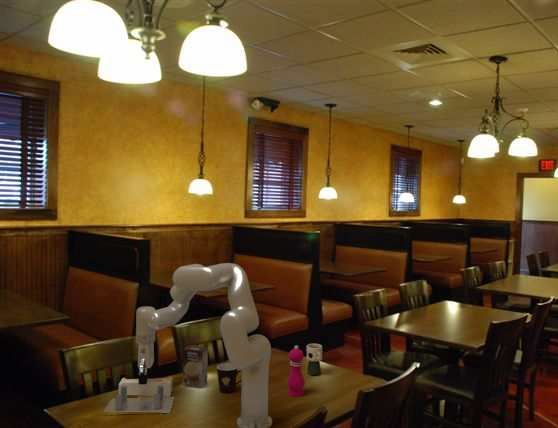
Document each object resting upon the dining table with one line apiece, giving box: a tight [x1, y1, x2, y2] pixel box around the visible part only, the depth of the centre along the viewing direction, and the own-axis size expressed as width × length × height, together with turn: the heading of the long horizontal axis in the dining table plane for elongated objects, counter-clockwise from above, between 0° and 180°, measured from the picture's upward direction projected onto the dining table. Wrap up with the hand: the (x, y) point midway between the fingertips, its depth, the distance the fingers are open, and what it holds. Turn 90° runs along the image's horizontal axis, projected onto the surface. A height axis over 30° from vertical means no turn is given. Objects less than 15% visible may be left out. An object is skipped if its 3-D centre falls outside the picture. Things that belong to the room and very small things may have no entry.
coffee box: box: [182, 344, 209, 389], centre depth 213 cm, size 9×6×16 cm
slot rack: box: [103, 386, 175, 414], centre depth 189 cm, size 12×24×6 cm, turn 95°
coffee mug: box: [216, 362, 242, 395], centre depth 206 cm, size 12×9×10 cm
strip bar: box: [118, 376, 173, 397], centre depth 201 cm, size 7×20×7 cm, turn 95°
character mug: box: [306, 343, 323, 376], centre depth 227 cm, size 11×7×13 cm, turn 24°
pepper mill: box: [286, 345, 306, 397], centre depth 204 cm, size 7×7×20 cm
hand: (145, 379), depth 201 cm, fingers open, 9 cm apart
